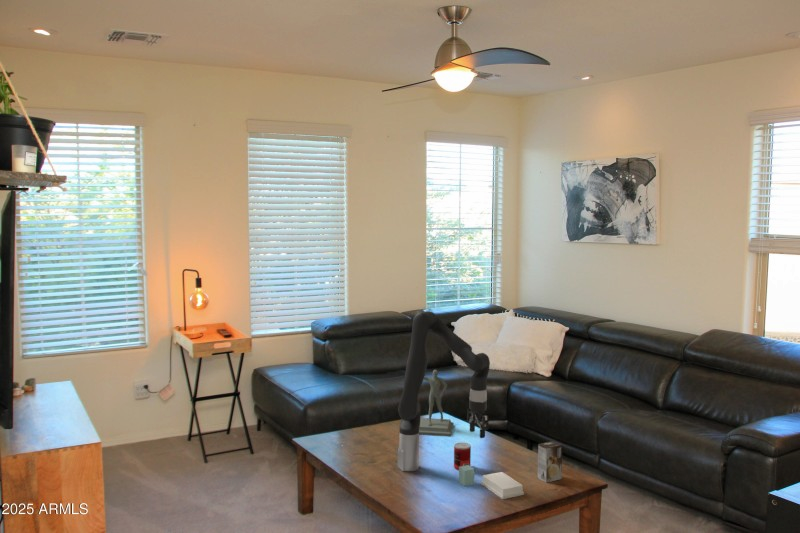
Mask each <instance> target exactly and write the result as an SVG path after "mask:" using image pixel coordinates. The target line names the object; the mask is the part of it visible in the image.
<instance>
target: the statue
mask: <svg viewBox="0 0 800 533" xmlns="http://www.w3.org/2000/svg"><path fill="white" fill-rule="evenodd" d="M438 373H439V372H438V370H437V369H434V370H433V371H432V376H424V379H423V381H427V382H428V384H429V386H430V390H429V396H428V406H429V409H428V418H427V417H422V418H421V419H420V427H419V436H420V435H422V436H436V437H437V436H438V437H440V436H441V437H451V436H452V433H453V429H454V425H455V423H454V422H453V421H451V419H447V418H444V415H443V407H442V398H443V396H444V393H445V392H446V390H447V387H448V384H447V382H446V381H445V380H444V378H442V377H438ZM441 385H442V386H443V388H442V391H441V392H440V386H441ZM434 405H436V407H437V410H438V411H439V415H440V418H432V415H433V407H434Z"/></svg>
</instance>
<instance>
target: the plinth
mask: <svg viewBox="0 0 800 533" xmlns="http://www.w3.org/2000/svg"><path fill="white" fill-rule="evenodd" d="M480 484H481V485H482V486H483V487H484V488H486V489H488V490H489V491H490V492H492V493H493V494H495V496H497V497H498V498H500V499H501V500H505V499H511V498H515V497H516V498H517V497H519V496H524V495H525V492H524V491H523V489H524V488H523V487H524V486H523V484H521V483H520V482H518V481H516V479H513V478H512V477H511V476H509V475H508V474H506V473H505V472H503V471H500V472H495V473H493V472H492V473H490V474H489V473H488V474H483V475H482V481H481V483H480Z"/></svg>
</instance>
